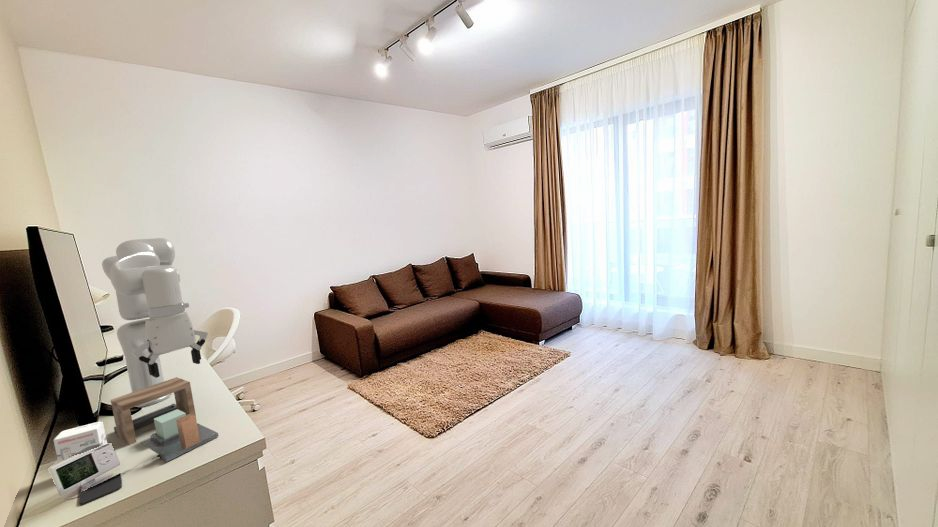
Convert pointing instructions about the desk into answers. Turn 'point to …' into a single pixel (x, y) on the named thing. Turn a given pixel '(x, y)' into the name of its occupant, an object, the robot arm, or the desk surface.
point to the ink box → (79, 440)
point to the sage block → (168, 424)
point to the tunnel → (145, 395)
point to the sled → (181, 439)
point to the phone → (101, 489)
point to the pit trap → (151, 417)
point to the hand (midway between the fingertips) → (177, 369)
